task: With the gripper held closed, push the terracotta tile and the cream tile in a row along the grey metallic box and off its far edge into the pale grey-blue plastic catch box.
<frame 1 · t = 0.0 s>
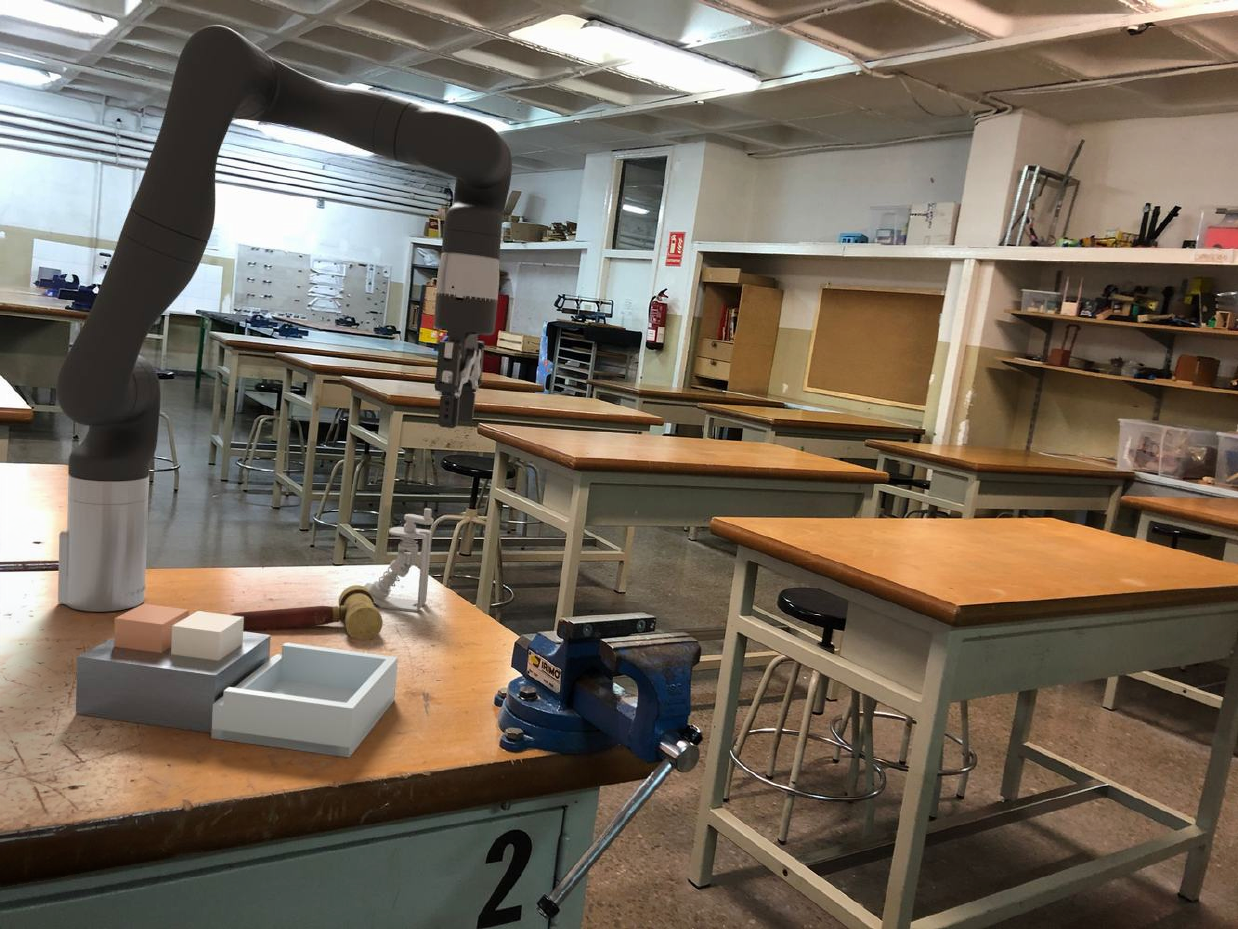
hand: (456, 423, 115), 29 cm above the table, fingers open, 8 cm apart
gavel: (294, 631, 121), on the table
tile terracotta: (151, 641, 95), point 6 cm above the table, touching grey metallic box
tile cream: (207, 648, 95), point 6 cm above the table, touching grey metallic box
clamp: (395, 606, 134), on the table
catch box: (309, 717, 95), on the table
grey metallic box: (177, 699, 96), on the table
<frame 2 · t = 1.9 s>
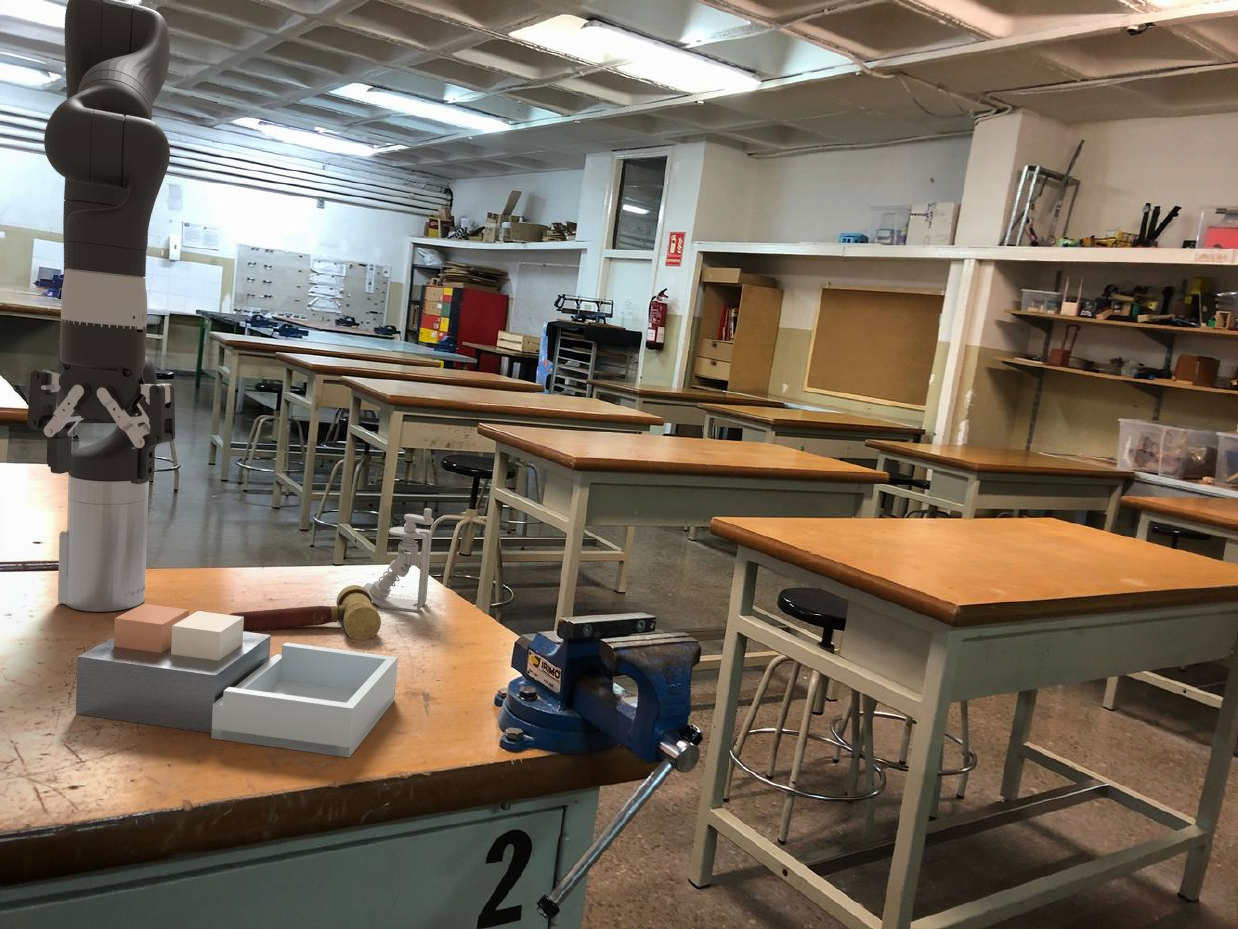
hand: (100, 477, 94), 22 cm above the table, fingers open, 8 cm apart
nothing on the table moved.
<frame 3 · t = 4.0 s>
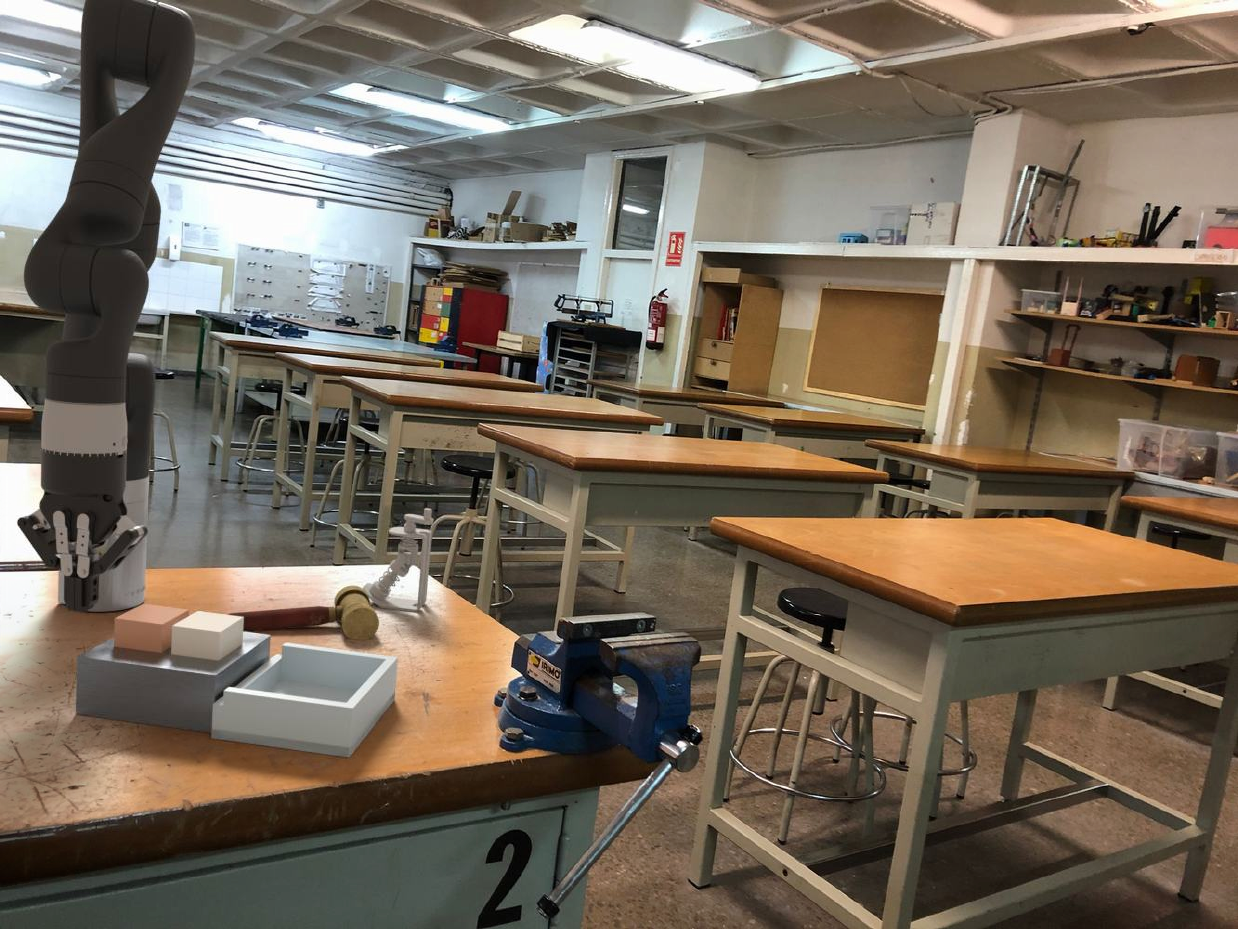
hand: (81, 609, 95), 9 cm above the table, fingers closed
nothing on the table moved.
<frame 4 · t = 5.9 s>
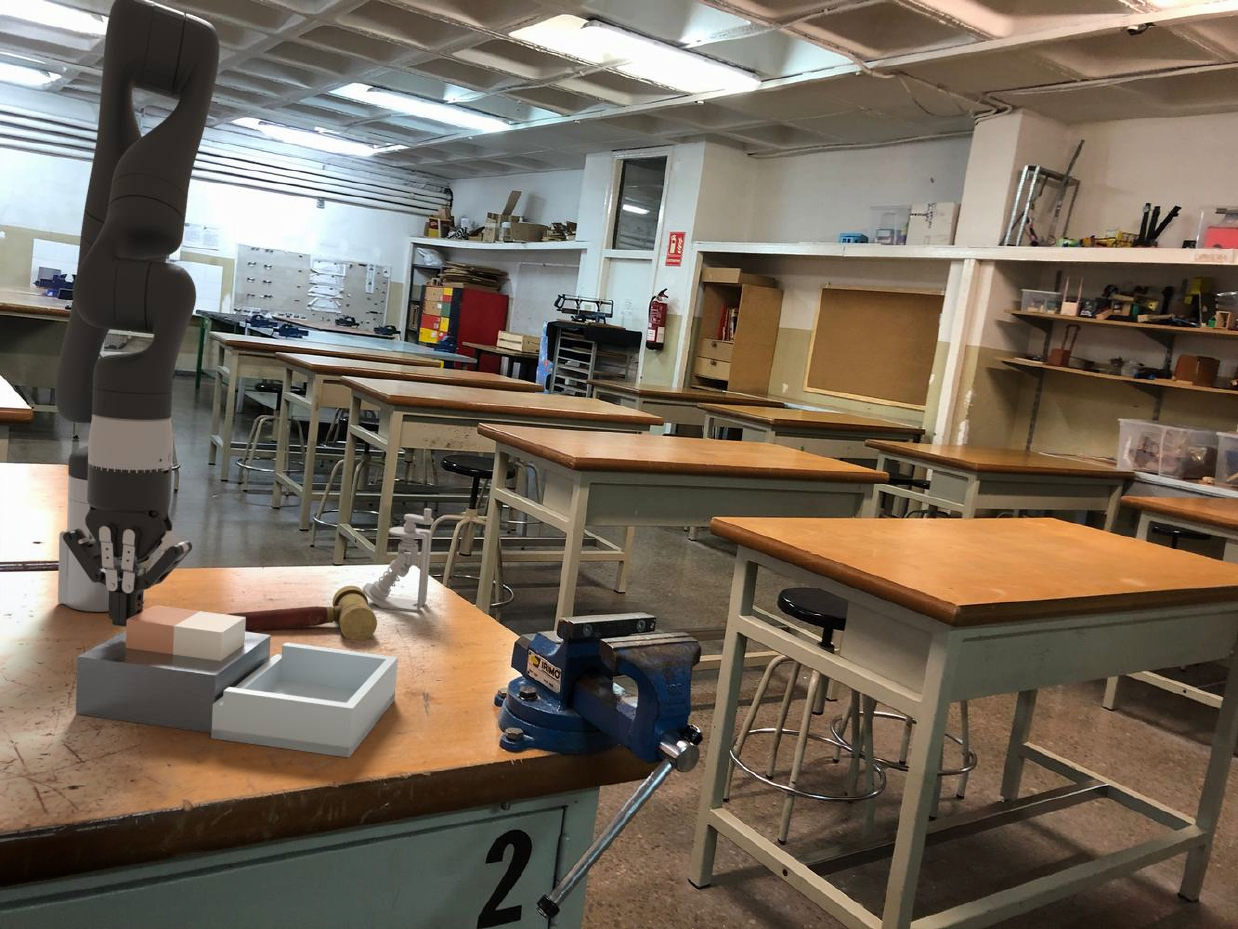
hand: (125, 623, 95), 8 cm above the table, fingers closed
tile terracotta: (163, 642, 95), point 6 cm above the table, touching gripper, grey metallic box, tile cream
tile cream: (209, 649, 95), point 6 cm above the table, touching grey metallic box, tile terracotta
everything else where it was.
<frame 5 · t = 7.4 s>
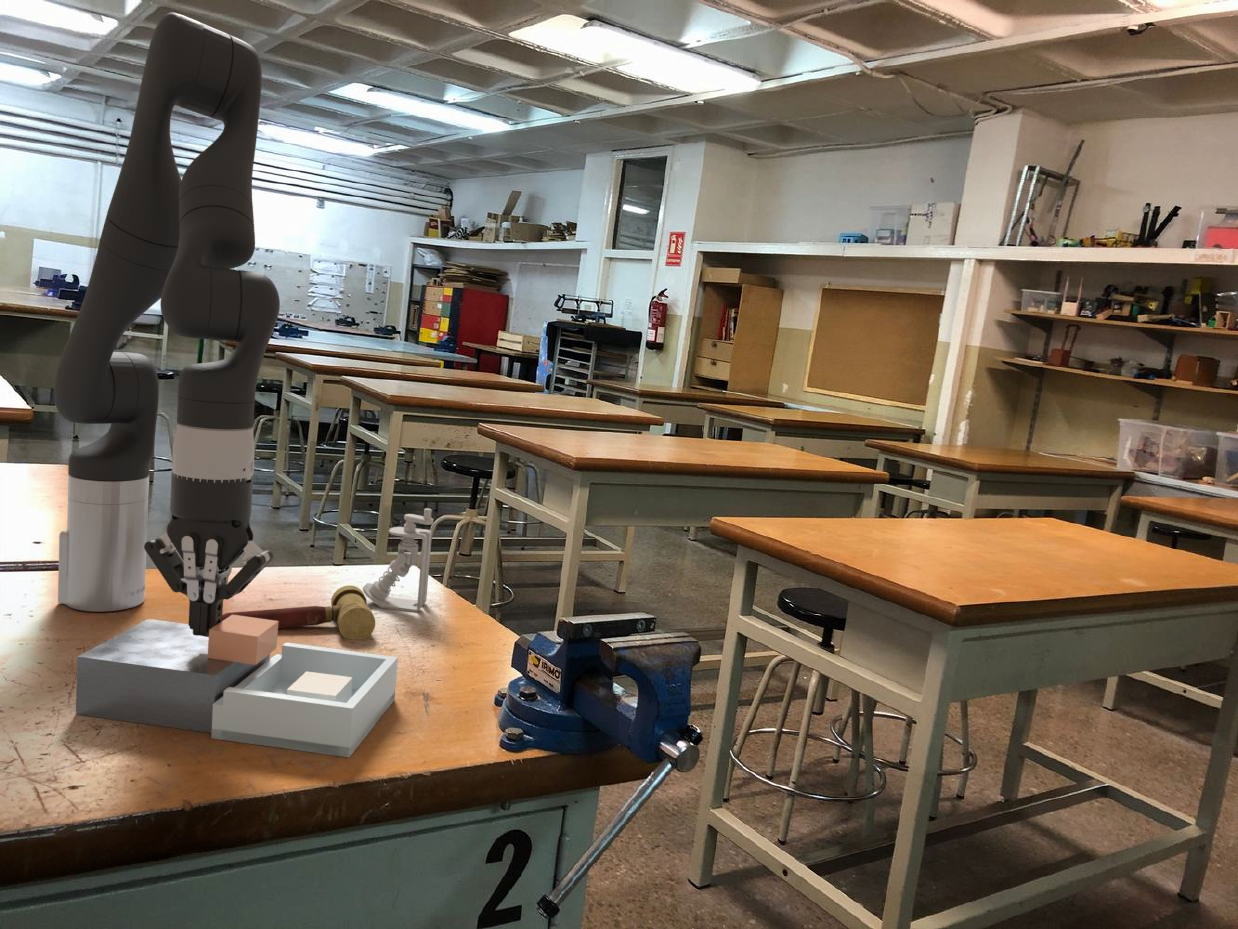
hand: (205, 633, 95), 8 cm above the table, fingers closed
tile terracotta: (242, 652, 95), point 6 cm above the table, touching gripper, grey metallic box
tile cream: (320, 683, 94), point 4 cm above the table, tilted 180°, touching catch box
everything else where it was.
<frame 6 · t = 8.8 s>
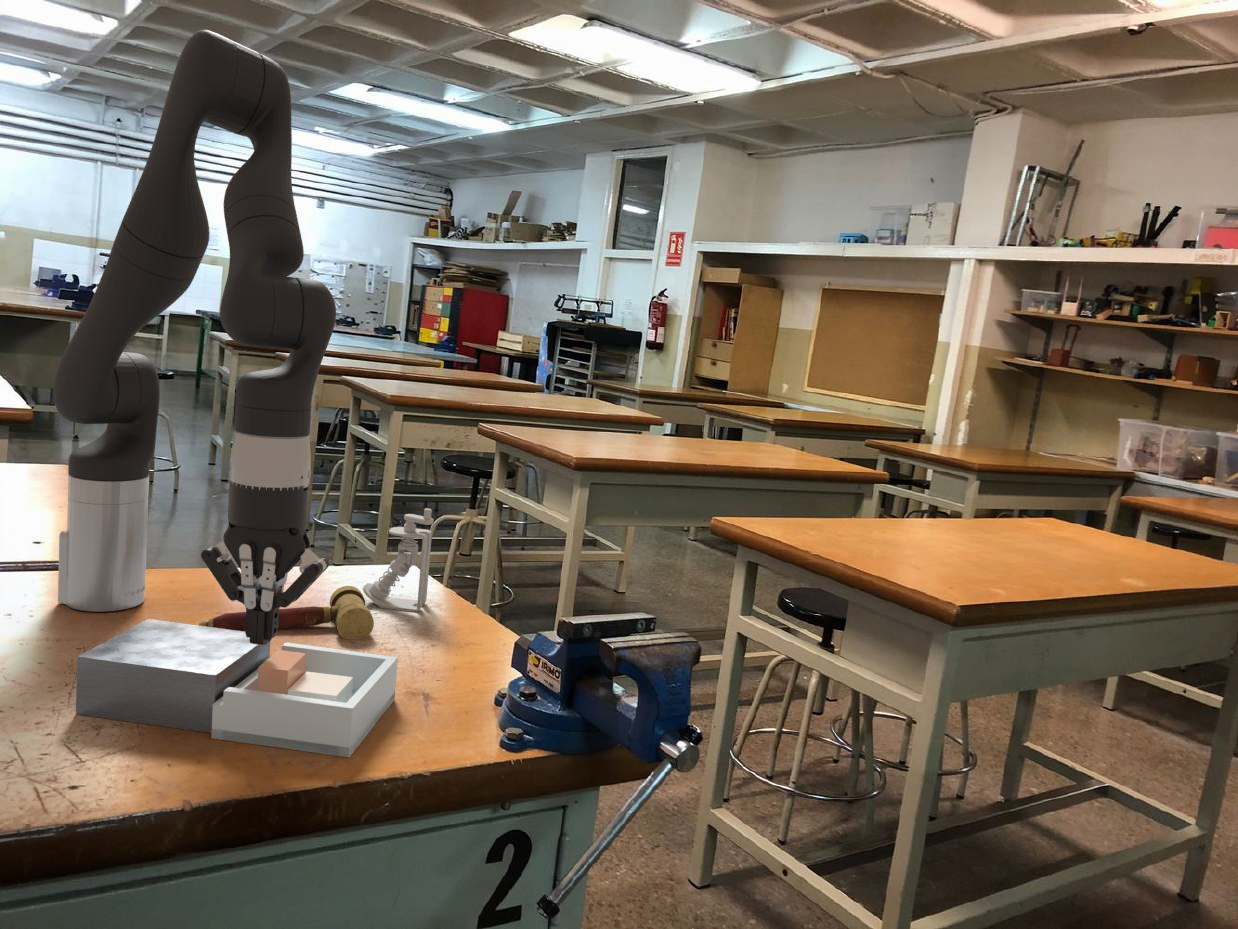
hand: (261, 641, 94), 8 cm above the table, fingers closed
tile terracotta: (267, 681, 95), point 3 cm above the table, tilted 90°, touching catch box
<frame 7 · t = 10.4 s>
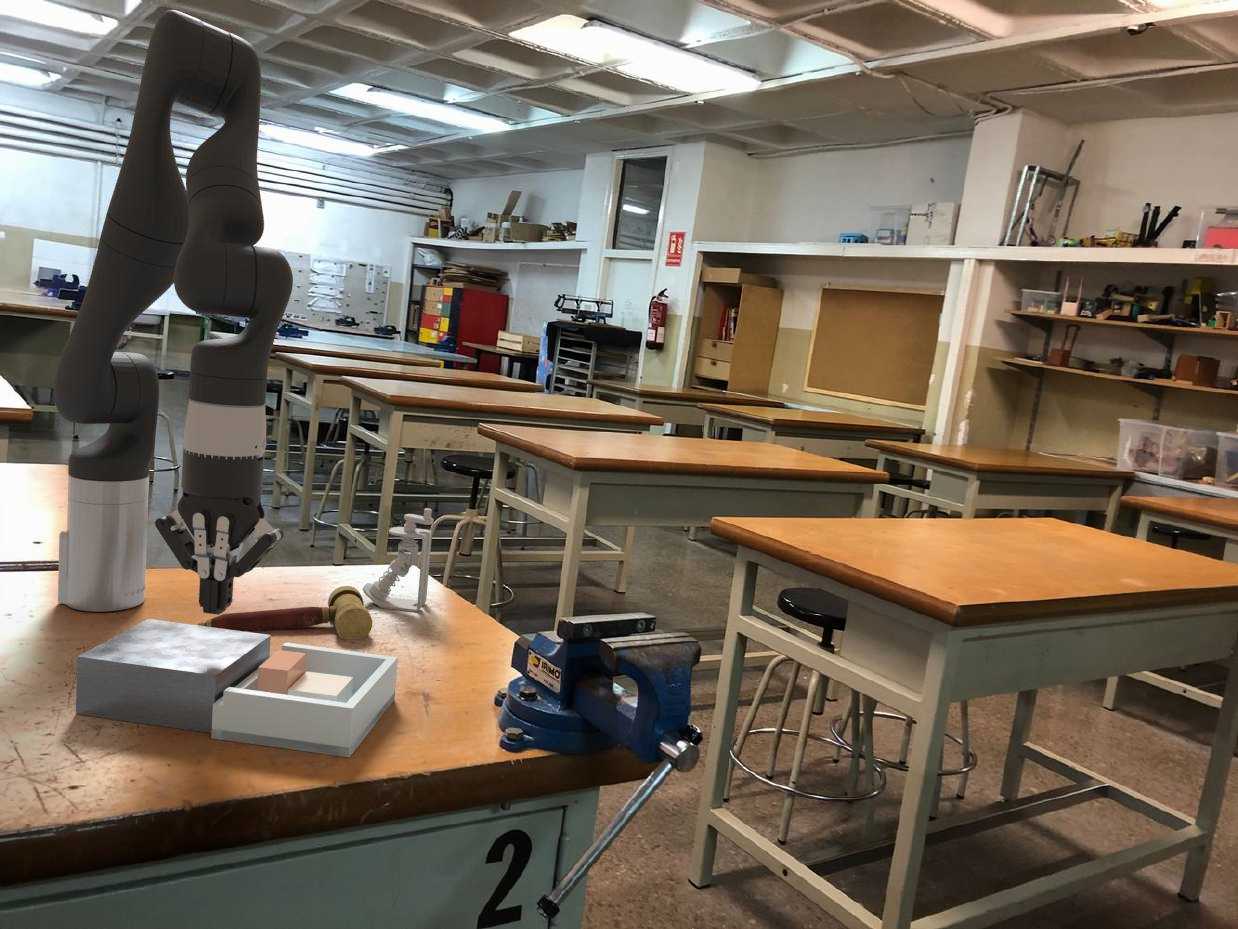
hand: (215, 611, 94), 10 cm above the table, fingers closed
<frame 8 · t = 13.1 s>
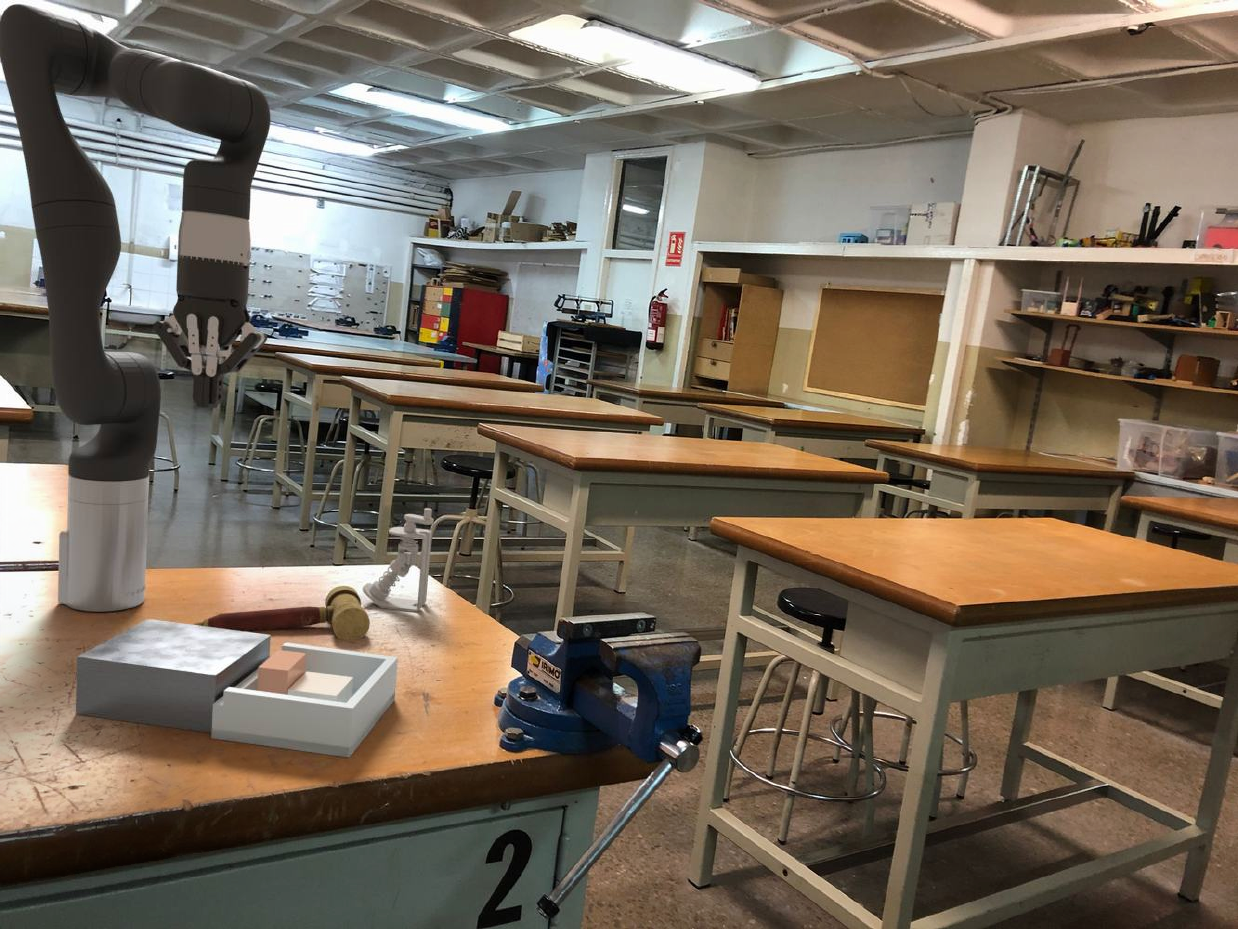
hand: (207, 407, 107), 29 cm above the table, fingers closed
at the end: tile cream inside the target area on the catch box (0.6 cm from its centre), point 4.0 cm above the catch box's base; tile terracotta inside the target area on the catch box (5.0 cm from its centre), point 3.5 cm above the catch box's base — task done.
